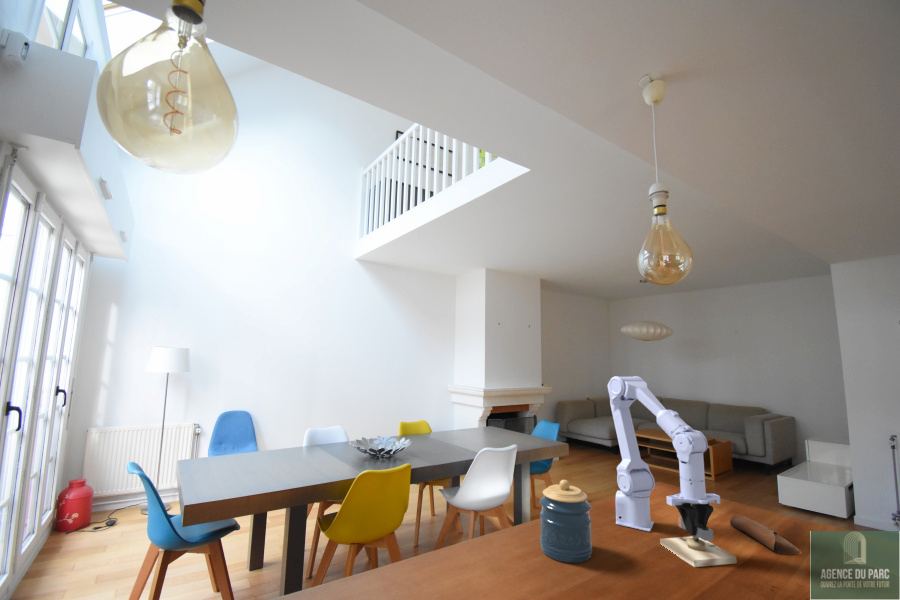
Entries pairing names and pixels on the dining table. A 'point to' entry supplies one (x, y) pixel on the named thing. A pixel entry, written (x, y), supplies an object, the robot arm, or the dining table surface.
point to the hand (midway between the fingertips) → (695, 533)
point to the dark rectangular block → (698, 530)
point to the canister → (565, 523)
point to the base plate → (698, 551)
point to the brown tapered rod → (764, 535)
